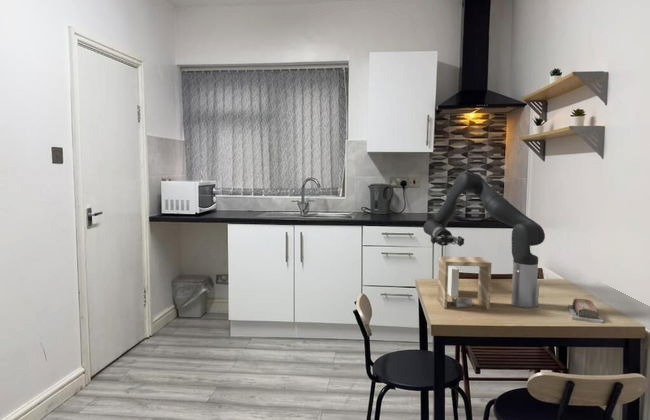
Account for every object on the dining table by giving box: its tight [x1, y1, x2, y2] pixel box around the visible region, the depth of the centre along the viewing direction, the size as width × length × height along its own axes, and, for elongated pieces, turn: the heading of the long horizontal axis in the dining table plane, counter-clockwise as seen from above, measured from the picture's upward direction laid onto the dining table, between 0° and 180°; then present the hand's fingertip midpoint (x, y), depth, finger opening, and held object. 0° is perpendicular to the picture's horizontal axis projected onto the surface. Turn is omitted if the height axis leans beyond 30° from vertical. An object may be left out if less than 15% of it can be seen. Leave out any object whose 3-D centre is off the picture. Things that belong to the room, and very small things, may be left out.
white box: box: [447, 266, 460, 298], centre depth 211 cm, size 3×12×12 cm, turn 179°
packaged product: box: [567, 298, 604, 324], centre depth 181 cm, size 18×5×10 cm
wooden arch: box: [437, 256, 492, 311], centre depth 191 cm, size 18×12×18 cm
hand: (451, 243), depth 210 cm, fingers open, 8 cm apart
